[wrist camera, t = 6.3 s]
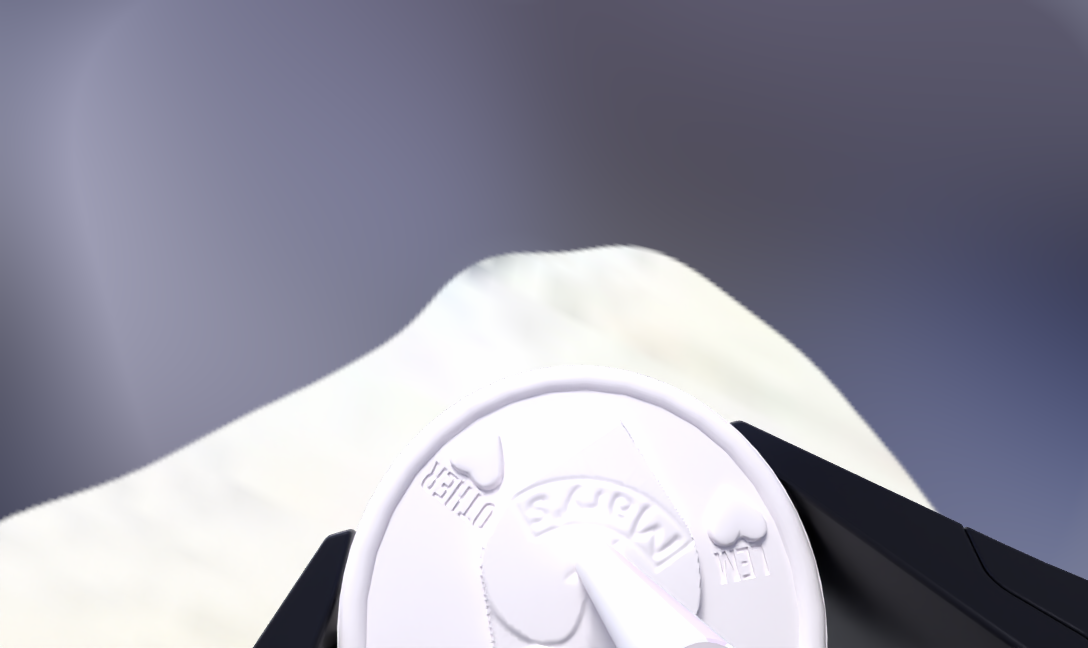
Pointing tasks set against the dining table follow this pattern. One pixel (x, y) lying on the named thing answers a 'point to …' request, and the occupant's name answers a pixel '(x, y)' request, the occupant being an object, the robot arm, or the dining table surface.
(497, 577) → the smoothie
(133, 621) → the dining table surface
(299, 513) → the dining table surface
